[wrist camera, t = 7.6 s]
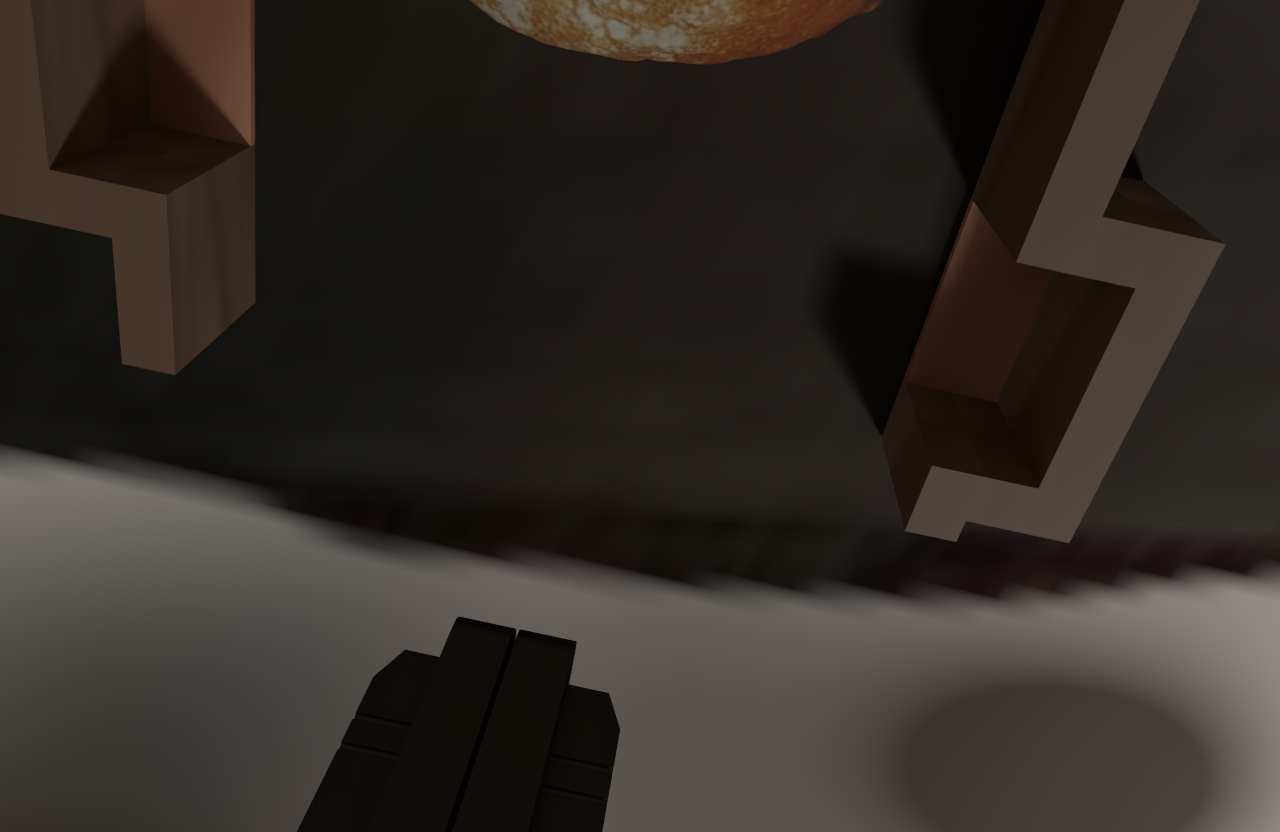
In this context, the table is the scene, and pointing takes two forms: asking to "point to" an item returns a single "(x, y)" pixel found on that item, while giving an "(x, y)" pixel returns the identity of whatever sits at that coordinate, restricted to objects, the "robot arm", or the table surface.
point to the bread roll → (674, 25)
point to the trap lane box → (950, 338)
